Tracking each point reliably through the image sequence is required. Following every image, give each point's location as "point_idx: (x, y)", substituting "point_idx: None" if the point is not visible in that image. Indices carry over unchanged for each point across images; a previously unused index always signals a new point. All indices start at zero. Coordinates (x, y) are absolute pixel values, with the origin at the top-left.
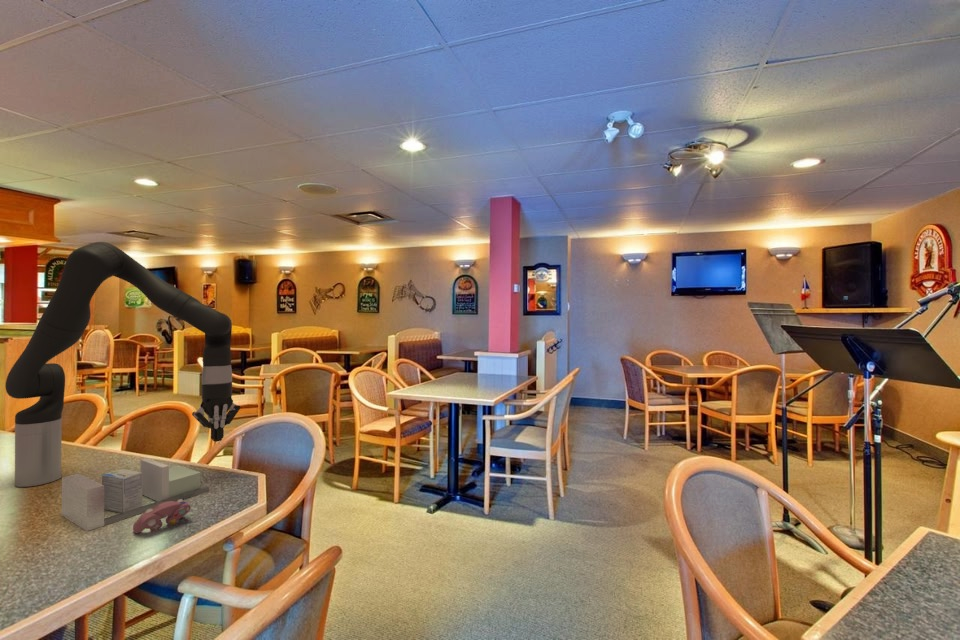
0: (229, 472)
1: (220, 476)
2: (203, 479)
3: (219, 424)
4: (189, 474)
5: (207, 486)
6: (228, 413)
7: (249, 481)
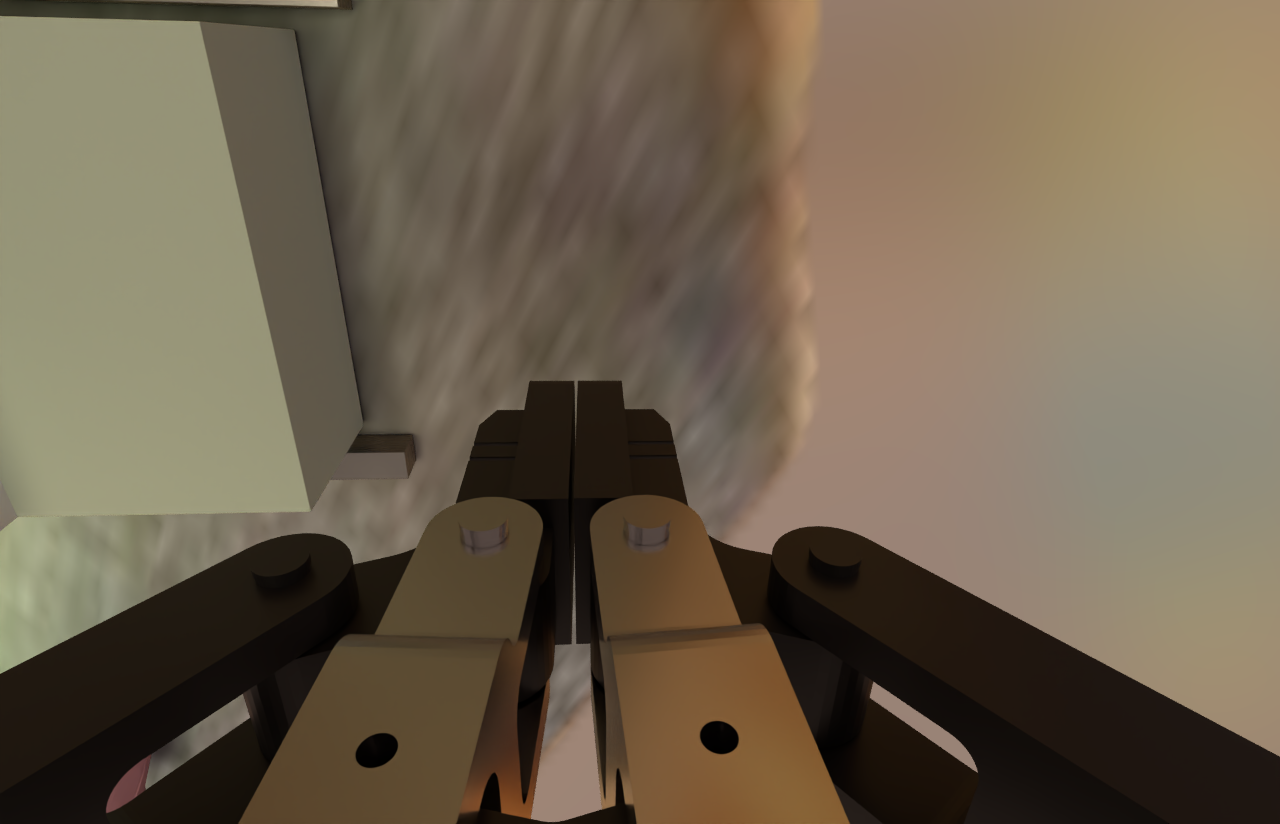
0: (748, 179)
1: (639, 214)
2: (506, 149)
3: (600, 675)
4: (215, 486)
5: (400, 464)
6: (1027, 812)
7: None
